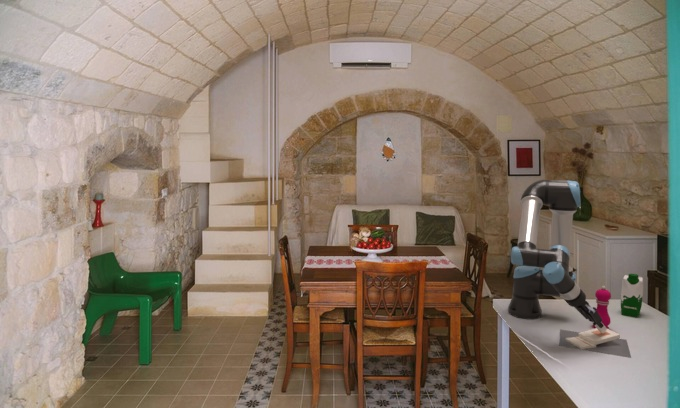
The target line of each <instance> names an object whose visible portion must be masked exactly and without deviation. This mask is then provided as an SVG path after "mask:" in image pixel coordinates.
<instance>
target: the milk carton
mask: <svg viewBox="0 0 680 408" xmlns="http://www.w3.org/2000/svg"><path fill="white" fill-rule="evenodd" d="M621 283H622V284H621V290H620V291H621V292H620V293H621V294H620V310H621V312H620V313H621V316H627V317H632V318H636V319H638V318H639V317H640V313H641V310H642V304H643V295H644V286H645V285H644V278H643V277H642V276H639V274H638V273H637V274H636V273H629V274H628V275H627V274H625V275H624V276H623V278H622V281H621Z"/></svg>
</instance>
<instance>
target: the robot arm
mask: <svg viewBox="0 0 680 408" xmlns="http://www.w3.org/2000/svg"><path fill="white" fill-rule="evenodd" d="M543 205H544V206H548V210H549V211H550V212H551V214H552V215H551V231H550V247H549V249H546V248H545V249H544V248H537V245H538V236H539V235H538V233H539V223H540V212H541V209H542V208H543ZM520 206H521V216H520V223H519V228H518V229H519V230H518V231H519V232H518V239H517V245H516V246H512V248H511V253H510V262H511V265H516V266H517V267H515V268H514V270H513V276H512V278H513V284H512V295H511V296H512V297H511V299H510V302H509V304H508V306H507V313H508V314H509V315H511V316H513V317H517V318H520V319H528V320H534V319H539V318H541V317H542V307H541V303H540V300H539V298H540V297H539V295H540V296H541V295H542V296H550V297H557V298H562V299H563V300H564V301H565V302H566V303H567V305H568V306H570V307H573V308H574V309H575V310H577V312H579V313H580V314H581V316H582V317H583V318H585V320H588V321H589V322H590V323H591V324H592V326H593V325H594V326H595V327H596V328H597V329H598V330H599V331H600V333H602V334H603V333H604V332H605V331H606V330H607V328H606V327H605V326H604V324H603V323H602V318H601V317H600V315H599V314H598V312H597V310H596V309H597V307H594V306H593V307H591V305H590V304H589V302H588V301H587V300H586V299H587V295H586V293H585V292H584V291H583V290H582V289H581V288H580V286H579V285H578V284H577V282H576V277H577V274H576V273H575V272H574V269H573V267H572V266H570V265H571V264H570V262H571V249H572V248H571V247H572V233H573V219H574V214H575V213H576V212H577V211H578V208H579V207H581V189H580V183H579V182H578V181H576V180H575V181H574V180H568V179H567V180H564V179H561V180H558V179H540V180H536V181H534V182H532V183H530V185H529V186H528V187H526V189H525V190H524V191H523V193H522V194H521V197H520ZM541 268H542V269H541Z"/></svg>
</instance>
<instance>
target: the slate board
mask: <svg viewBox="0 0 680 408" xmlns="http://www.w3.org/2000/svg"><path fill="white" fill-rule="evenodd" d="M579 333H581V332H580V331H574V330H566V329H562V328H561V329H559V344H558V345H559V347H565V348H571V349H576V350H582V351H588V352H593V353H599V354H605V355H612V356H617V357H623V358H629V359H632V355H631V351H630V348H629V344H628V340H627V339H624V338H618V339H614V340H611V341H607V342H604V343H600V344H597V345H596V347H594V348H585V349H580V348H578V347H577V346H575V345H573V344H571V343H570V342H568V341H566V340H565V338H571V337H579Z"/></svg>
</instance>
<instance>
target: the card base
mask: <svg viewBox="0 0 680 408" xmlns="http://www.w3.org/2000/svg"><path fill="white" fill-rule="evenodd" d="M565 340H566V341H568V342H570V343H571V344H573V345H575V346H577V347H578V348H580V349H579V350H581V349H585V348H594V347H596V345H594V344H592V343H590V342H589V341H587V340H585V339H583V338H581V337H571V338H565Z"/></svg>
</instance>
